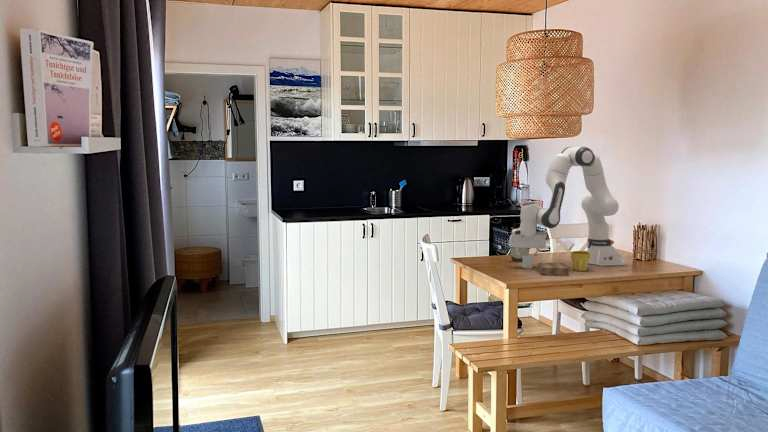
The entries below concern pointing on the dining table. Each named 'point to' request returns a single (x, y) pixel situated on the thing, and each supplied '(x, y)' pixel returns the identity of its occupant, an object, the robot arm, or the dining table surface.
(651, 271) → the dining table surface
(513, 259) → the food container
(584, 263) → the plant pot
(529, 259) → the sage block
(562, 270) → the walnut base
